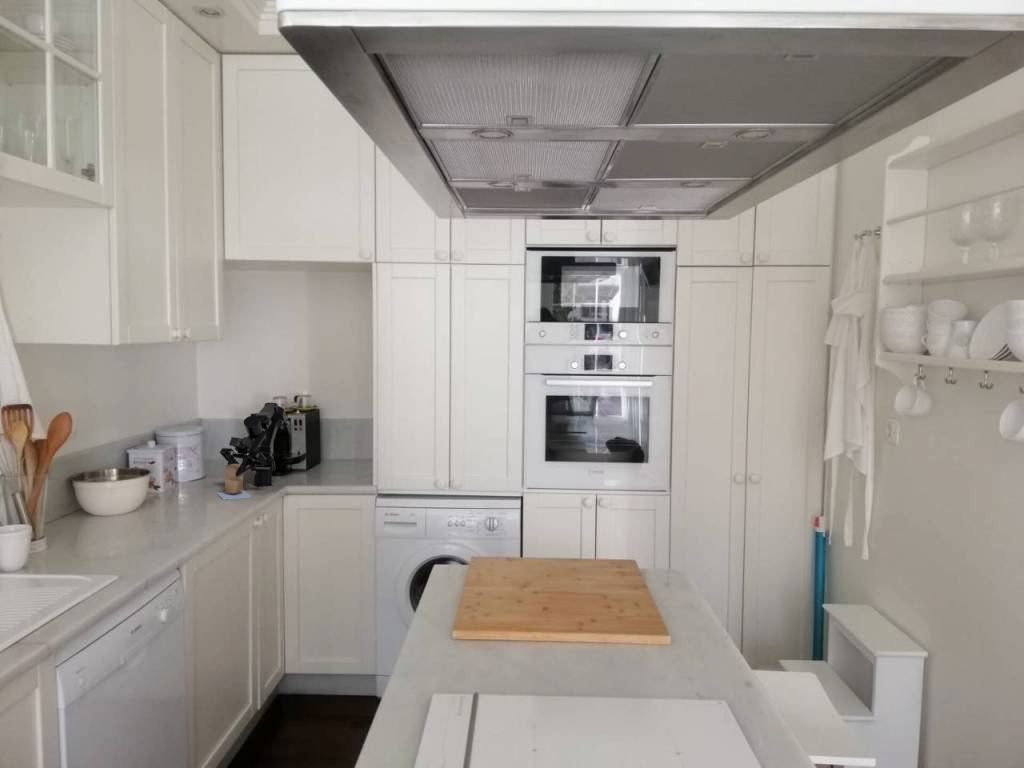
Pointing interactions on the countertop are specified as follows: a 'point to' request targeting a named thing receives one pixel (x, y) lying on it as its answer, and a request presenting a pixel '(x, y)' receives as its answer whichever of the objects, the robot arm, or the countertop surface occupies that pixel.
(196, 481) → the countertop surface
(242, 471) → the robot arm
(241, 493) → the light blue square tile
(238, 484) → the tan wooden block
